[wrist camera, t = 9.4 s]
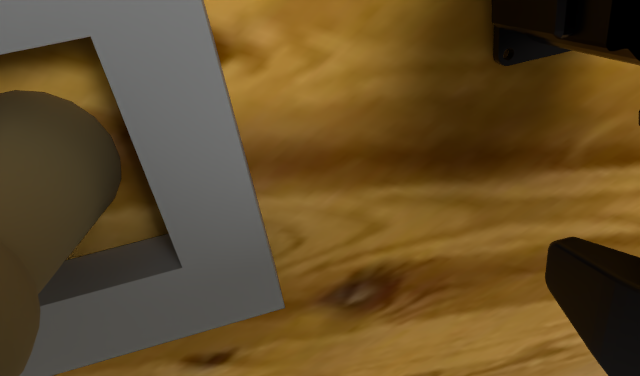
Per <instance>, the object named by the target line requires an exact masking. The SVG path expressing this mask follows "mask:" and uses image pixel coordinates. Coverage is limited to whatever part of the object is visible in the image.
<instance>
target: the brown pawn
mask: <svg viewBox="0 0 640 376" xmlns="http://www.w3.org/2000/svg"><path fill="white" fill-rule="evenodd" d="M120 181H121V163H120V156H119V154H118V151H117V149H116V147H115V144H114V142H113V140H112V137H111V136H110V135H109V133H108V132H107V131H106V130H105V129H104V128H103V126H102V125H101V124H100V123H99V122H98V121H97V119H96V118H95V117H94V116H92V115H91V114H89V113H88V112H86V111H85V110H83V109H82V108H80V107H79V106H77V105H76V104H74V103H73V102H71V101H68V100H65V99H62V98H59V97H56V96H53V95H51V94H48V93H45V92H33V91H19V90H14V91H9V92H5V93H0V376H19V375H20V374H21V373H22V372H23V371H24V368H25V366H26V364H27V362H28V359H29V357H30V355H31V352H32V349H33V346H34V343H35V339H36V336H37V333H38V330H39V324H40V304H39V298H38V294H39V293H40V292H41V290H42V289H43V288H44V287H45V285H46V284H47V283H48V282H49V280H50V279H51V278H52V277H53V275H54V274H55V273H56V272H57V270H58V269H59V268H60V266H61V265H62V264H63V263H64V261H65V260H66V259H67V258H68V256H69V255H70V254H71V253H72V251H73V250H74V249H75V248H76V246H77V245H78V244H79V242H80V241H81V240H82V239H83V237H84V236H85V235H86V234H87V232H88V231H89V230H90V229H91V227H92V226H93V225H94V224H95V222H96V221H97V220H98V218H99V217H100V216H101V215H102V213H103V212H104V211H105V210H106V208H107V207H108V206H109V205H110V203H111V202H112V201H113V200H114V198H115V196H116V193H117V190H118V187H119V184H120Z"/></svg>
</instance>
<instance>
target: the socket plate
mask: <svg viewBox="0 0 640 376" xmlns="http://www.w3.org/2000/svg"><path fill="white" fill-rule="evenodd" d="M90 36H91V39H92V41H93V44H94V46H95V49H96V51H97V54H98V56H99V59H100V61H101V64H102V67H103V69H104V72H105V74H106V77H107V79H108V82H109V84H110V87H111V89H112V92H113V94H114V97H115V99H116V102H117V104H118V107H119V109H120V112H121V114H122V117H123V119H124V122H125V124H126V127H127V129H128V132H129V135H130V137H131V140H132V142H133V145H134V147H135V150H136V152H137V155H138V157H139V160H140V162H141V165H142V167H143V170H144V172H145V175H146V177H147V180H148V182H149V185H150V187H151V190H152V192H153V195H154V198H155V200H156V203H157V205H158V208H159V210H160V213H161V215H162V218H163V220H164V223H165V225H166V228H167V230H168V233H169V234H166V235H162V236H158V237H154V238H150V239H146V240H143V241H139V242H135V243H131V244H127V245H123V246H120V247H116V248H112V249H108V250H104V251H100V252H97V253H93V254H89V255H85V256H81V257H77V258H74V259H70V260H66V261H64V263H63V264H62V265H61V266H60V268H59V269H58V270H57V272H56V273H55V274H54V275H53V277H52V278H51V279H50V280H49V282H48V283H47V284H46V285H45V287H44V288H43V289H42V290H41V292H40V293H39V294H38V298H39V304H40V324H39V330H38V333H37V336H36V339H35V343H34V346H33V349H32V352H31V355H30V357H29V359H28V362H27V364H26V366H25V368H24V371H23V372H22V373H21V374H20V375H19V376H53V375H56V374H59V373H63V372H66V371H70V370H73V369H77V368H80V367H83V366H87V365H90V364H94V363H97V362H101V361H104V360H108V359H111V358H114V357H118V356H121V355H125V354H128V353H132V352H135V351H138V350H142V349H145V348H149V347H152V346H156V345H159V344H163V343H166V342H169V341H173V340H176V339H180V338H183V337H187V336H190V335H193V334H197V333H200V332H204V331H207V330H211V329H214V328H218V327H221V326H224V325H228V324H231V323H235V322H238V321H242V320H245V319H248V318H252V317H255V316H259V315H262V314H266V313H269V312H272V311H276V310H279V309H283V308H285V306H284V301H283V297H282V293H281V288H280V284H279V280H278V276H277V271H276V267H275V263H274V260H273V256H272V252H271V249H270V245H269V241H268V238H267V234H266V230H265V226H264V223H263V219H262V215H261V212H260V208H259V204H258V200H257V197H256V193H255V189H254V186H253V182H252V178H251V175H250V171H249V167H248V163H247V160H246V156H245V152H244V149H243V145H242V141H241V138H240V134H239V130H238V126H237V123H236V119H235V115H234V112H233V108H232V104H231V101H230V97H229V93H228V89H227V86H226V82H225V78H224V75H223V71H222V67H221V64H220V60H219V56H218V52H217V49H216V45H215V41H214V38H213V34H212V30H211V27H210V23H209V19H208V15H207V12H206V8H205V4H204V1H203V0H0V55H1V54H6V53H11V52H16V51H21V50H26V49H31V48H36V47H41V46H46V45H51V44H56V43H61V42H65V41H70V40H75V39H80V38H85V37H90Z"/></svg>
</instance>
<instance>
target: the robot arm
mask: <svg viewBox="0 0 640 376" xmlns="http://www.w3.org/2000/svg"><path fill="white" fill-rule="evenodd" d="M492 23H493V24H494V41H493V57H494V60H495V62H496V63H498V64H500V65H504V66H509V65H513V64H518V63H522V62H526V61H530V60H535V59H539V58H543V57H547V56H551V55H556V54H560V53H564V52H568V51H577V52H582V53H586V54H591V55H595V56H600V57H604V58H609V59H613V60H618V61H622V62H627V63H631V64H636V65H640V0H492ZM507 49H508V51H509V52H508V55H507V57H506V58H504V56H503V55H504V52H505V51H506V50H507ZM639 125H640V110H639ZM545 280H546V284H547V287H548V289H549V290H550V292H551V294H552V295H553V297H554V298H555V300H556V301H557V303H558V304H559V306H560V307H561V309H562V310H563V312H564V313H565V315H566V316H567V317H568V319H569V320H570V322H571V323H572V325H573V326H574V328H575V329H576V331H577V332H578V334H579V335H580V337H581V338H582V340H583V341H584V343H585V344H586V346H587V347H588V349H589V350H590V352H591V353H592V355H593V356H594V357H595V359H596V360H597V362H598V363H599V364H600V365H601V367H602V368H603V369H604V371H605V372H606V373H607V374H608V376H640V258H639V257H636V256H633V255H630V254H627V253H624V252H620V251H617V250H614V249H611V248H608V247H605V246H602V245H599V244H595V243H592V242H589V241H586V240H583V239H580V238H577V237H568V238H564V239H560V240H557V241H554V242H552V243H551V244H550V245H549V248H548V255H547V264H546V273H545Z"/></svg>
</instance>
